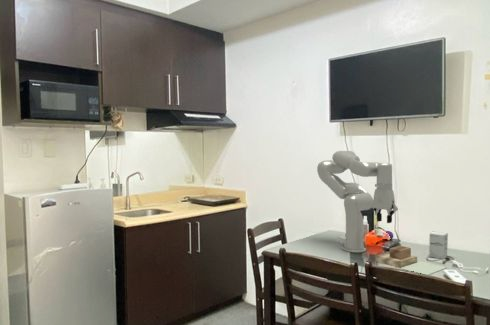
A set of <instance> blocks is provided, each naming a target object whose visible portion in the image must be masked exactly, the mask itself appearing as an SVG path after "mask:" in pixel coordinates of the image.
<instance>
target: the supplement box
mask: <svg viewBox="0 0 490 325" xmlns="http://www.w3.org/2000/svg"><path fill="white" fill-rule="evenodd" d="M448 237H449V233H447V232H441V231H432V232H430V233H429V243H428V245H429V247H428V248H429V251H428V255H429V256H428V257H429V258H435V259H436V258H437V259H442V260H445V259H446V258H447V257H448V247H449V246H448V241H449V240H448Z"/></svg>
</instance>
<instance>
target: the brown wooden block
mask: <svg viewBox="0 0 490 325" xmlns="http://www.w3.org/2000/svg"><path fill="white" fill-rule="evenodd" d="M389 252H390V257H391V258H395V259H399V260H402V259H405V258H408V257H411V255H412V253H411V252H412V249H411V247H409V246H408V247H407V246H405V245H404V246H403V245H396V246H394V247H390V248H389Z"/></svg>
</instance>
